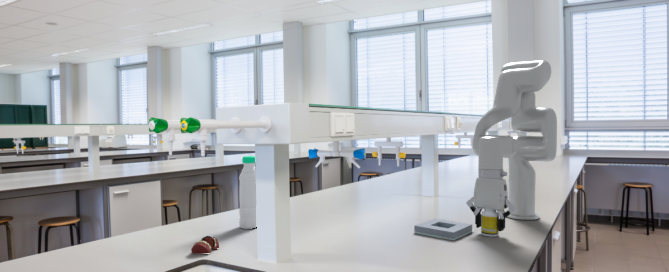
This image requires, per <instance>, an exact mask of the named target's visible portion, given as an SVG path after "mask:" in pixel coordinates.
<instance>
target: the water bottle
mask: <svg viewBox="0 0 669 272" xmlns="http://www.w3.org/2000/svg"><path fill="white" fill-rule="evenodd" d="M255 157H256V156H254V155H248V156H247V155H246V156H242V161H241V162H242V164H243V167H242V168H241V172H240V174H239V177H238V180H239V187H238V188H239V191H238V195H239V196H238V197H239V198H238V199H239V209H238V210H239V222H238V223H239V228H241V229H242V228H243V230H252V229H251V228H255V229H257V228H256V184H255V168H256V164H255Z"/></svg>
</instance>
